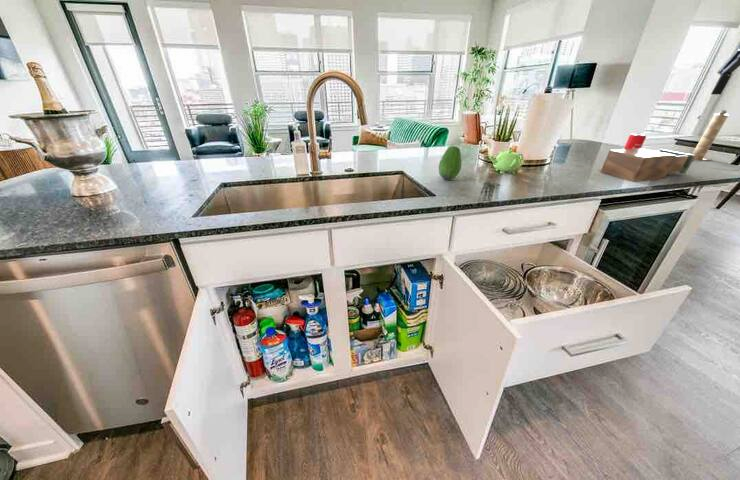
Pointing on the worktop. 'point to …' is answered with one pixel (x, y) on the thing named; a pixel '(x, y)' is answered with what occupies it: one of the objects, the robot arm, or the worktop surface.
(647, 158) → the wood grain box
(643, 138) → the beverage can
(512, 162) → the green bumpy rounded figure
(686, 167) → the drawer
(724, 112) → the pepper mill
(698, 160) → the tile
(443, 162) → the avocado
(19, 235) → the worktop surface
